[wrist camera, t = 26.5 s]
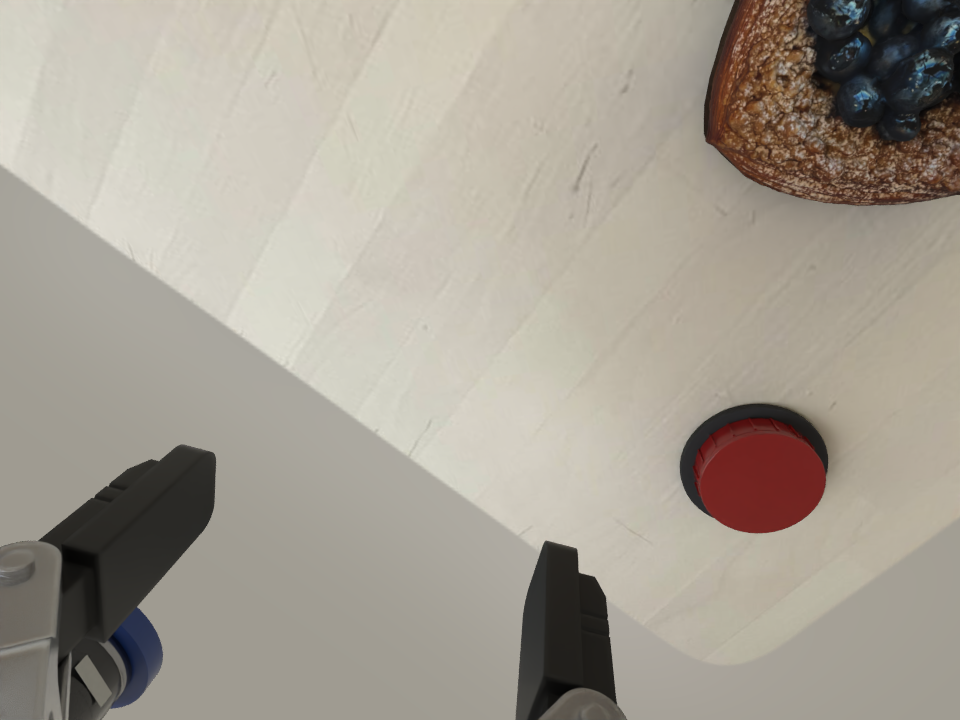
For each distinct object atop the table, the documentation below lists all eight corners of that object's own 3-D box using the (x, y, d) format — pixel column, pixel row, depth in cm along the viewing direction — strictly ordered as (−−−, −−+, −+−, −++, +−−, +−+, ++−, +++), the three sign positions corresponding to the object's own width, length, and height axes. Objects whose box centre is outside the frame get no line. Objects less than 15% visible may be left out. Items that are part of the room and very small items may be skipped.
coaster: (789, 535, 31) (792, 540, 30) (661, 502, 31) (662, 506, 31) (850, 423, 28) (853, 427, 28) (708, 388, 28) (709, 392, 28)
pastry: (1111, -124, 19) (1321, -220, 14) (931, 225, 24) (1035, 254, 19) (788, -187, 20) (870, -302, 15) (673, 168, 25) (703, 179, 19)
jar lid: (723, 401, 28) (731, 416, 27) (837, 439, 28) (852, 456, 26) (673, 493, 30) (678, 511, 29) (778, 528, 30) (789, 549, 29)
